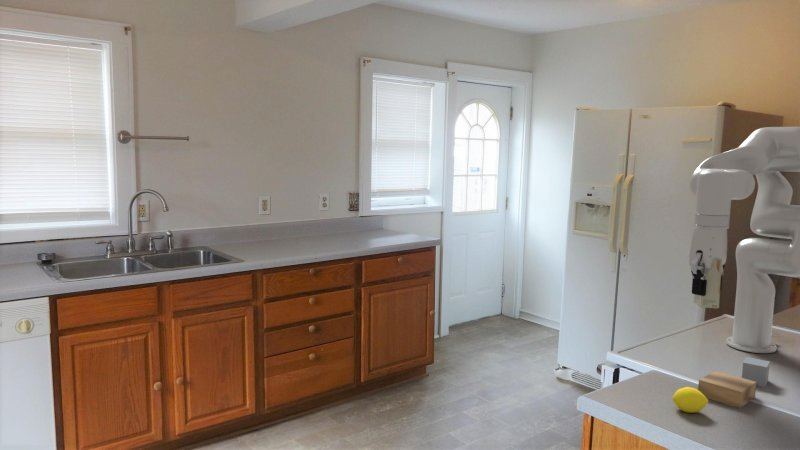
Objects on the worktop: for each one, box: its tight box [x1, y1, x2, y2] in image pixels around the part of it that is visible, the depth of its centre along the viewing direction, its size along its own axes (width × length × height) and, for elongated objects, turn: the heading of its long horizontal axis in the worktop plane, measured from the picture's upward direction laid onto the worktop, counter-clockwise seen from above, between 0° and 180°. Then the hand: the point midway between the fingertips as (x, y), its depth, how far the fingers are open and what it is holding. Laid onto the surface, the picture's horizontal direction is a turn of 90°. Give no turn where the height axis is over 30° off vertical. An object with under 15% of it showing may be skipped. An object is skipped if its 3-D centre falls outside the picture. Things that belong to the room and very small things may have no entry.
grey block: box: [741, 356, 771, 388], centre depth 143 cm, size 5×5×5 cm
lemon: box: [672, 386, 709, 414], centre depth 126 cm, size 7×5×5 cm
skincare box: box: [693, 259, 722, 309], centre depth 144 cm, size 6×4×12 cm
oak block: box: [697, 370, 757, 409], centre depth 134 cm, size 9×9×4 cm
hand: (706, 291), depth 145 cm, fingers closed on skincare box, 7 cm apart
